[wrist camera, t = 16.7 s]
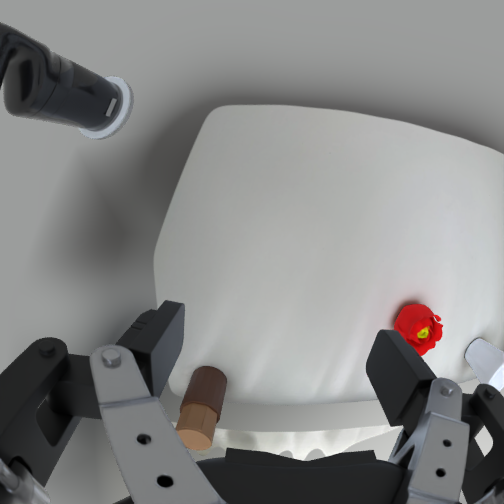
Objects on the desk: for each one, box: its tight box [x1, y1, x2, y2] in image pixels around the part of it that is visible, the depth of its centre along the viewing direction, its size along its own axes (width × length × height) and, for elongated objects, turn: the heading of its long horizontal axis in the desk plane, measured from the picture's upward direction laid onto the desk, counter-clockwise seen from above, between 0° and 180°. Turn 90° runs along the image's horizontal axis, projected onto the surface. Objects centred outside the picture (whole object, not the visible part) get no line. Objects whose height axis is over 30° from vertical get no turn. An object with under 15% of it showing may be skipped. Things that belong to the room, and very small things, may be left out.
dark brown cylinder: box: [180, 366, 227, 424], centre depth 43 cm, size 7×7×14 cm
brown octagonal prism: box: [175, 403, 217, 450], centre depth 37 cm, size 6×6×6 cm
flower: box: [394, 304, 443, 356], centre depth 40 cm, size 8×8×8 cm
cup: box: [465, 338, 504, 391], centre depth 39 cm, size 10×10×13 cm
